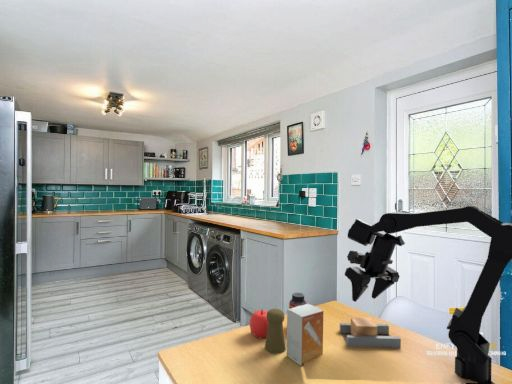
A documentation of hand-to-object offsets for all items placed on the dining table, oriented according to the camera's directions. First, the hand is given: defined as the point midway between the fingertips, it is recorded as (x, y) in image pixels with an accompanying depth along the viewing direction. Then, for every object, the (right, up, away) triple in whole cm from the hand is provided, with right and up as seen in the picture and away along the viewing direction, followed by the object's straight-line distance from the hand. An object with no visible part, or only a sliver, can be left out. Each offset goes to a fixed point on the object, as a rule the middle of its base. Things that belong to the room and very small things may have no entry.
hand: (363, 299), depth 89 cm
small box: (-19, -13, -8) cm, 25 cm away
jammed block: (0, -12, 0) cm, 12 cm away
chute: (+1, -13, 0) cm, 13 cm away
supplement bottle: (-19, -13, +9) cm, 24 cm away
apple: (-31, -13, +4) cm, 34 cm away
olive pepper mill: (-27, -13, -4) cm, 30 cm away
